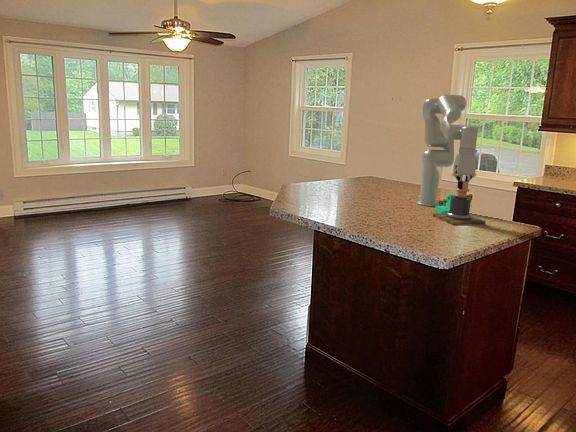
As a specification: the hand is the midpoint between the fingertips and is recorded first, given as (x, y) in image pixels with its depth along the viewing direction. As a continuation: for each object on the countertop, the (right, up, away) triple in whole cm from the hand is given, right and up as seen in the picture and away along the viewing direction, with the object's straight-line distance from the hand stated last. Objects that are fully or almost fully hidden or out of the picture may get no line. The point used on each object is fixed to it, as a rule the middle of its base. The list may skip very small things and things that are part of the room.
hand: (462, 188), depth 241 cm
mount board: (-1, -16, +4) cm, 16 cm away
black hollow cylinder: (-1, -14, +4) cm, 15 cm away
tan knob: (0, -5, +1) cm, 5 cm away
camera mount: (-1, -12, +21) cm, 24 cm away
